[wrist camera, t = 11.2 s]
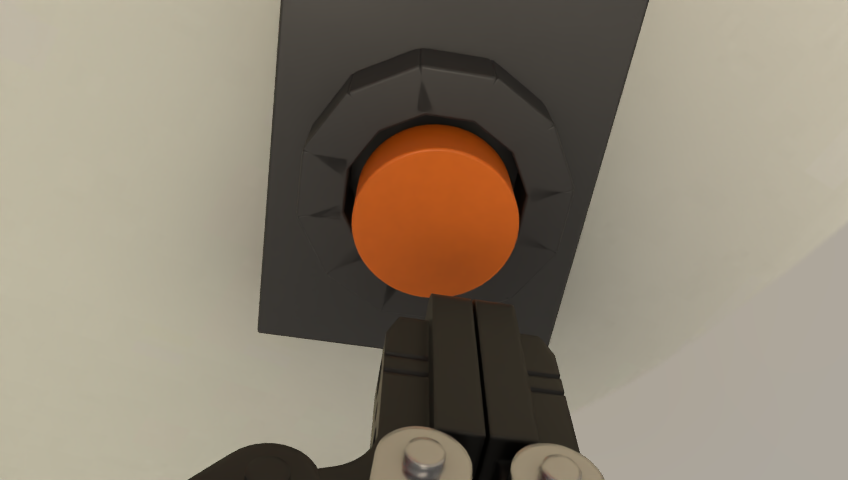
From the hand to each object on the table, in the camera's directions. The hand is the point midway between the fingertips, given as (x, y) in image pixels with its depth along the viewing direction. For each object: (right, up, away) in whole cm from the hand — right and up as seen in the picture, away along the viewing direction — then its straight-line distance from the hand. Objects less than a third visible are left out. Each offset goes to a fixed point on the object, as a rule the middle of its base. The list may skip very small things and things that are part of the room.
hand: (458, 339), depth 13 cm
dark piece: (0, +5, +9) cm, 10 cm away
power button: (0, +3, +6) cm, 6 cm away
